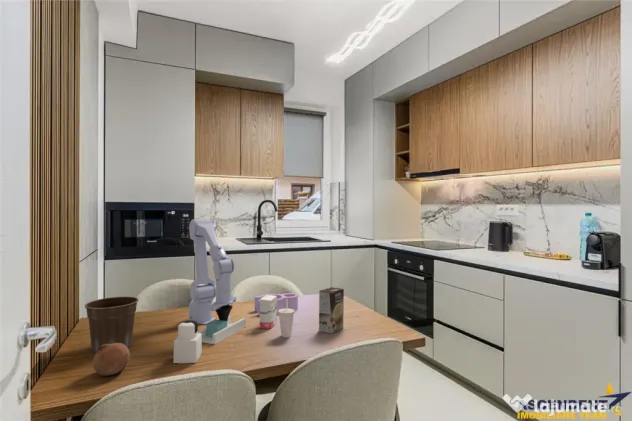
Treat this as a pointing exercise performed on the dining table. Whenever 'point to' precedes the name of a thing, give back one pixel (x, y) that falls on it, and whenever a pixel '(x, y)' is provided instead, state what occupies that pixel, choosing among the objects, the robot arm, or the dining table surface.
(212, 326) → the block
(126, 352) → the brown rounded lump
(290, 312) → the smoothie
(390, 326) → the dining table surface
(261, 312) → the ink box
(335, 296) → the coffee box
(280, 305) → the purple cup holder
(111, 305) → the plant pot
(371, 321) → the dining table surface
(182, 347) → the medicine bottle
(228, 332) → the chute
